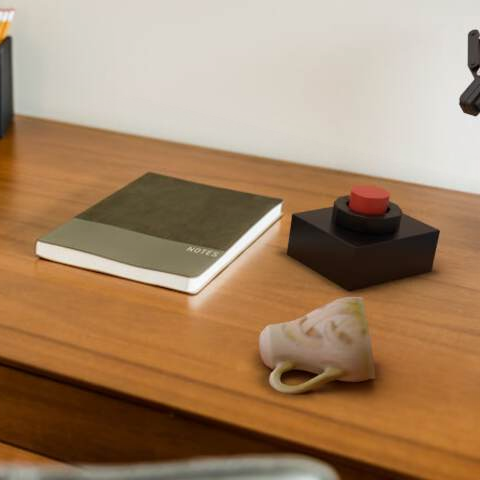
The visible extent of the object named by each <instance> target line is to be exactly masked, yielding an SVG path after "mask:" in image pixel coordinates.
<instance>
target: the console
mask: <svg viewBox="0 0 480 480" xmlns="http://www.w3.org/2000/svg"><path fill="white" fill-rule="evenodd" d="M349 200H350V194H347V195H341V196H339V197H337V198H336V199H335V200H334V201H333V206H328V207H323V208H316V209H311V210H306V211H300V212H296V213H295V212H294V213H292V214H291V220H290V227H289V233H288V234H289V235H288V243H287V248H286V249H287V250H286V256H288V257H290V258H291V259H293V260H294V261H296V262H298V263H299V264H301V265H303V266H304V267H306V268H308V269H310V270H312V271H313V272H315V273H317V274H318V275H320V276H322V277H323V278H325V279H327V280H328V281H330V282H331V283H334V284H335V285H337V286H338V287H340V288H342V289H343V290H344V291H346V292H348V293H349V292H355V291H358V290H361V289H366V288H370V287H374V286H379V285H382V284H386V283H391V282H395V281H400V280H404V279H409V278H412V277H416V276H420V275H424V274H429V273H432V271H433V267H434V262H435V257H436V252H437V248H438V243H439V238H440V234H441V230H440V229H438V228H436V227H434V226H432V225H430V224H427V223H425V222H423V221H421V220H419V219H417V218H415V217H413V216H410V215H408V214H406V213H405V212H403V210H402V208H401V207H400V205H398V204H396V203H394V202H392V201H390V200H389V203H388V208H387V213H384V214H366V213H362V212H357V211H354V210H352V209H350V208H349Z"/></svg>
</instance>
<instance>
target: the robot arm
mask: <svg viewBox="0 0 480 480" xmlns="http://www.w3.org/2000/svg"><path fill="white" fill-rule="evenodd" d="M467 68H468V70H469V71H470V73H471V75H472V77H473V80H472V81H471V83H469V85H468V86H467V87H466V88H465V90H464V91H463V92H462V93H461V94H460V96H459V98H458V101H459V102H458V105H459V107H460V109H461V111H462V113H463V114H466V115H469V116H472V117H478V116H479V115H480V31H479V30H478V29H472V30H470V31H468V33H467Z"/></svg>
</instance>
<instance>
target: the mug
mask: <svg viewBox="0 0 480 480" xmlns="http://www.w3.org/2000/svg"><path fill="white" fill-rule="evenodd" d="M258 337H259V338H258V348H259V353H260V358H261V360H262V362H263V363H264V365H265V366H267V368H269V369H271V370H272V372H270V374H269V378H268V383H269V385H270V386H271V387H272V388H273V389H274V390H276V391H278V392H280V393H284V394H288V395H289V394H290V395H300V394H303V393H306V392H309V391H311V390H313V389H315V388H317V387H319V386H322V385H324V384H327V383H329V382H334V381H341V382H347V383H349V382H350V383H357V382H363V381H368V380H374V379H375V378H376V369H375V362H374V355H373V349H372V348H373V347H372V342H371V335H370V329H369V323H368V317H367V311H366V306H365V302H364V298H363V297H362V296H346V297H340V298H337V299H333V300H332V301H329V302H327V303H325V304H323V305H321V306H319V307H318V308H316V309H313V310H312V311H310V312H308V313H307V314H305V315H303V316H301V317H299V318H296V319H293V320H290V321H285V322H278V323H271V324H268V325H266V326H265V327H264V328H263V330H262V331H261V332H260V334H259V336H258ZM292 370H297V371H304V372H309V373H312V374H316V375H317V376H315V377H313V378H311V379H309V380H307V381H305V382H303V383H300V384H296V385H288V384H284V383H282V381H281V377H282V374H283V373H286V372H289V371H292Z"/></svg>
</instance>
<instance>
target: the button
mask: <svg viewBox="0 0 480 480" xmlns="http://www.w3.org/2000/svg"><path fill="white" fill-rule="evenodd" d="M349 195H350V200H349V208H350V209H352V210H354V211H357V212H362V213H366V214H384V213H387V208H388V203H389V201H390V196H391V193H390V192H389V191H388V190H386V189H384V188H383V187H379V186H375V185H374V186H373V185H365V184H361V185H355V186H353V187H351V189H350V194H349Z"/></svg>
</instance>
